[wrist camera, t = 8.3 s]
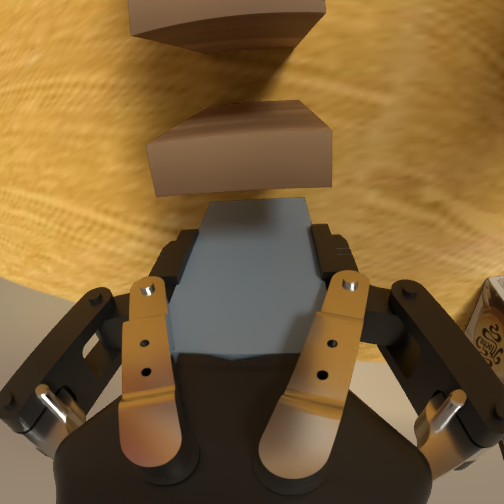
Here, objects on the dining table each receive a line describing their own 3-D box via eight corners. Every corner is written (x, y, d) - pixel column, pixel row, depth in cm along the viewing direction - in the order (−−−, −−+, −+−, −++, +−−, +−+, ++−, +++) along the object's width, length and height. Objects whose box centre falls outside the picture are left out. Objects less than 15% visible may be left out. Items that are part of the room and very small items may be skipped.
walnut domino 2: (211, 106, 16) (145, 144, 8) (298, 100, 16) (332, 130, 7) (214, 132, 17) (156, 197, 9) (300, 126, 17) (331, 187, 8)
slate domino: (210, 201, 16) (152, 350, 8) (304, 197, 16) (338, 350, 7) (214, 228, 17) (167, 382, 9) (304, 224, 17) (331, 383, 8)
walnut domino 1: (203, 29, 14) (127, -13, 5) (293, 21, 13) (319, -39, 5) (205, 54, 14) (130, 35, 6) (295, 47, 14) (326, 12, 6)
